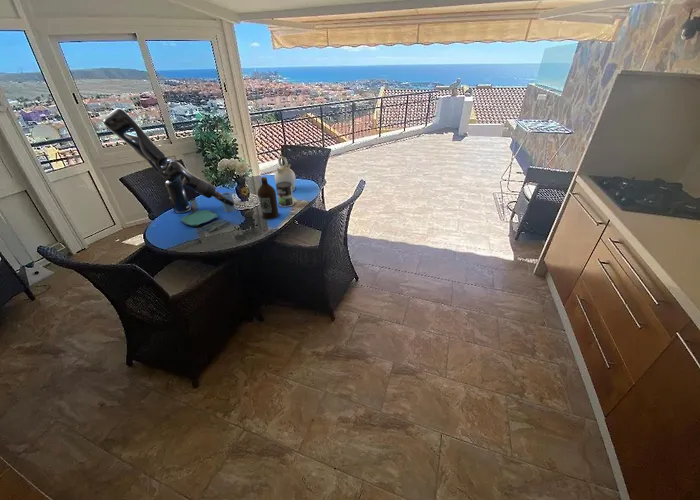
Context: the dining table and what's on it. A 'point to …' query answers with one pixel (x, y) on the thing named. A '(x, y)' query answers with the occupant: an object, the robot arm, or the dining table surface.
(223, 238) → the dining table surface
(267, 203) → the brown bottle
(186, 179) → the robot arm
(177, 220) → the dining table surface
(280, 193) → the coffee can
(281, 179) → the jug
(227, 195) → the cup
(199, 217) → the cutlery set
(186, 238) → the dining table surface
